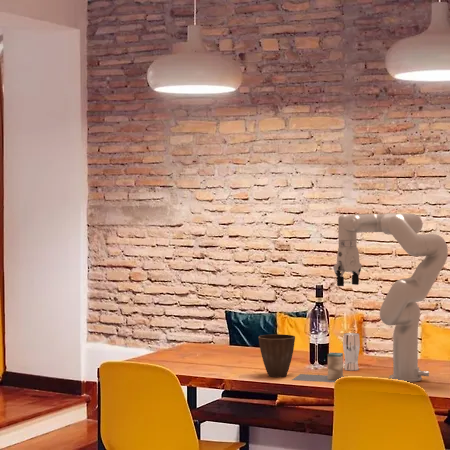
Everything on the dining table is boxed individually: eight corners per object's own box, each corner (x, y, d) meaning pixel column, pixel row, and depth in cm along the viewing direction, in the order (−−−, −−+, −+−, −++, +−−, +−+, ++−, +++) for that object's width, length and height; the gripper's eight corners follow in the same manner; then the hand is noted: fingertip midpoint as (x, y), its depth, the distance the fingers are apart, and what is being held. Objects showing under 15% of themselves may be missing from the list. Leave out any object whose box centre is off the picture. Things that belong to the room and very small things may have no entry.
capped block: (342, 378, 390) (342, 353, 390) (340, 380, 385) (340, 354, 385) (330, 377, 391) (330, 352, 391) (327, 379, 387) (327, 354, 387)
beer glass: (346, 371, 409) (346, 335, 409) (341, 368, 416) (340, 333, 416) (362, 370, 411) (362, 334, 410) (356, 367, 418) (356, 332, 417)
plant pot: (251, 376, 398) (251, 337, 398) (270, 371, 410) (270, 333, 410) (283, 380, 390) (283, 339, 389) (302, 374, 402) (301, 335, 402)
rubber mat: (353, 378, 393) (353, 376, 393) (346, 384, 380) (346, 382, 380) (300, 375, 400) (300, 374, 400) (291, 381, 387) (291, 380, 387)
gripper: (341, 245, 403) (341, 287, 403) (367, 243, 415) (367, 284, 415) (327, 244, 408) (327, 286, 408) (353, 243, 420) (354, 283, 420)
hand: (347, 285), depth 412 cm, fingers open, 9 cm apart
